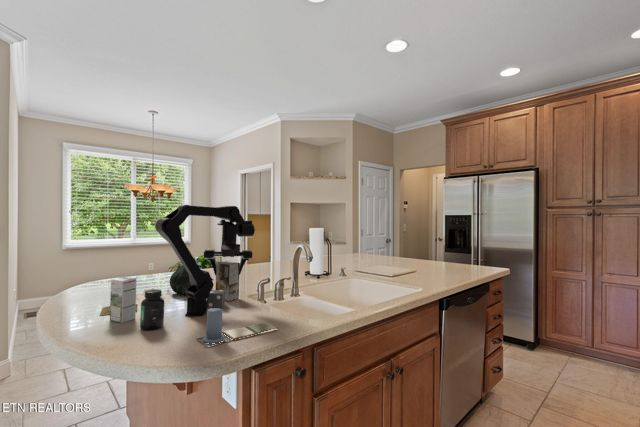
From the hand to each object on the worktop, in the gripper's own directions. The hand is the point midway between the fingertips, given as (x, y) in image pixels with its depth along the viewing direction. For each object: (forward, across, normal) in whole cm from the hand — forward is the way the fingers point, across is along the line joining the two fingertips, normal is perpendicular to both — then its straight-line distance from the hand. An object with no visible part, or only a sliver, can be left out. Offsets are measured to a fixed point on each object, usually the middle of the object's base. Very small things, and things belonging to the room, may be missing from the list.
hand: (227, 275), depth 130 cm
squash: (+13, -18, +28) cm, 36 cm away
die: (+13, -4, +3) cm, 14 cm away
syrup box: (+14, -34, -9) cm, 38 cm away
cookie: (+14, -39, +4) cm, 42 cm away
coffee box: (+13, 0, +15) cm, 20 cm away
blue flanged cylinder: (+14, -3, -34) cm, 37 cm away
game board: (+13, +4, -31) cm, 34 cm away
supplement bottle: (+14, -23, -19) cm, 33 cm away
